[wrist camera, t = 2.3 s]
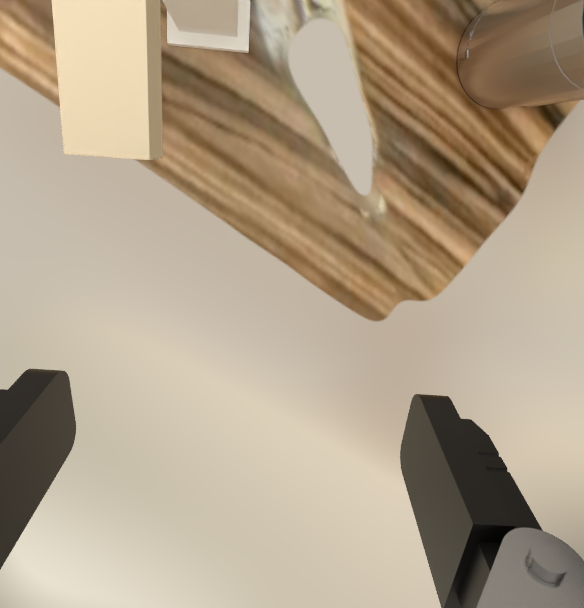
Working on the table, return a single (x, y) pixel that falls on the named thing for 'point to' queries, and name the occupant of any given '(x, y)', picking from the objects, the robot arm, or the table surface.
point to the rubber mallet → (109, 77)
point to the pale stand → (209, 24)
